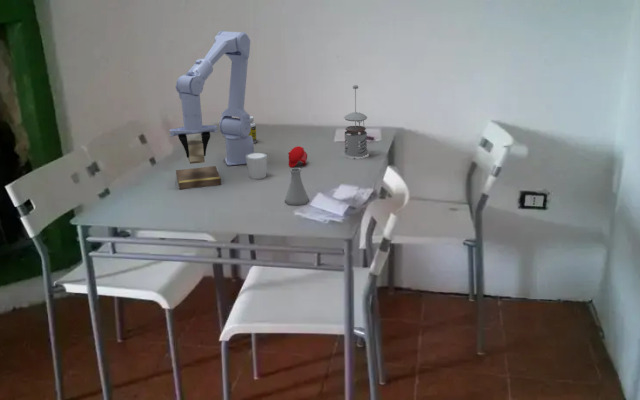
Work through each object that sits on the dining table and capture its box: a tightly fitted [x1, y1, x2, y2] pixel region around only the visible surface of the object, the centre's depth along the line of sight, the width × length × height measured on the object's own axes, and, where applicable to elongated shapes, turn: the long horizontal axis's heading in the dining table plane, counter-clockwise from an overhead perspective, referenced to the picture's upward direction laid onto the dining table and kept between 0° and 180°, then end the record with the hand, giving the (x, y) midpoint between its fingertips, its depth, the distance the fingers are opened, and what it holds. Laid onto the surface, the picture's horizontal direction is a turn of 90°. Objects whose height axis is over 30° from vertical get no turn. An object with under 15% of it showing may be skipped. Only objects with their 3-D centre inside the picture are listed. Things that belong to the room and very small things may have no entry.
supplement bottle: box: [248, 115, 257, 144], centre depth 253 cm, size 5×5×10 cm
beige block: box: [187, 138, 206, 165], centre depth 212 cm, size 5×6×6 cm
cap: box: [287, 145, 308, 169], centre depth 227 cm, size 8×6×6 cm
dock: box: [175, 165, 222, 190], centre depth 215 cm, size 13×13×2 cm
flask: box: [284, 167, 310, 206], centre depth 195 cm, size 7×7×10 cm
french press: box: [342, 84, 369, 157], centre depth 233 cm, size 10×12×25 cm
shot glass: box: [246, 152, 268, 180], centre depth 217 cm, size 7×7×7 cm
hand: (196, 155), depth 213 cm, fingers closed on beige block, 4 cm apart
